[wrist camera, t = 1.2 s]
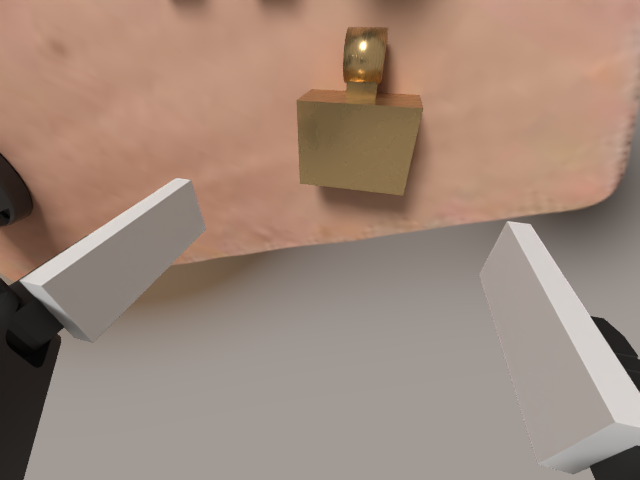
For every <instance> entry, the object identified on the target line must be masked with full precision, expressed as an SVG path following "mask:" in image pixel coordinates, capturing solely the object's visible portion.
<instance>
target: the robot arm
mask: <svg viewBox="0 0 640 480" xmlns="http://www.w3.org/2000/svg"><path fill="white" fill-rule="evenodd" d="M31 210H32V203H31V199H30V196H29V193H28V191H27V189H26V187H25V186H24V184H23V182H22V181H21V179H20V178H19V176H18V175H17V174H16V172H15V171H14V170H13V169H12V167H11V166H10V165H9V164H8V163H7V162H6V161H5V159H4V158H3V157H2V156H1V155H0V227H3V226H7V225H10V224H13V223H15V222H17V221H19V220H21V219H23V218H25V217H27V216H28V215H29V214H30V213H31ZM205 230H206V227H205V224H204V221H203V217H202V214H201V211H200V208H199V204H198V201H197V198H196V194H195V191H194V188H193V185H192V181H191V180H188V179H180V178H176V179H174V180H173V181H171V182H170V183H168V184H166V185H165V186H163V187H162V188H160V189H159V190H157V191H156V192H154V193H153V194H151V195H150V196H148V197H147V198H145V199H143V200H142V201H140V202H139V203H137V204H136V205H134V206H133V207H131V208H130V209H128V210H127V211H125V212H124V213H122V214H120V215H119V216H117V217H116V218H114V219H113V220H111V221H110V222H108V223H107V224H105V225H104V226H102V227H101V228H99V229H97V230H96V231H94V232H93V233H91V234H90V235H87V236H85V237H84V238H82V239H81V240H79V241H78V242H76V243H75V244H73V245H72V246H71V247H68V248H67V249H65V250H64V251H62V252H61V254H59V255H56V256H54V257H53V258H51V259H50V260H48V261H47V262H45V263H44V264H42V265H41V266H39V267H38V268H36V269H34V270H33V271H31V272H30V273H28V274H27V275H25V276H24V277H22V278H21V279H19V280H18V281H16V282H14V283H13V284H11V285H9V286H8V285H7V284H6V283H5V282H4V281H3V280H2V279H1V278H0V480H23V479H24V476H25V472H26V468H27V465H28V461H29V457H30V454H31V450H32V447H33V443H34V439H35V436H36V432H37V428H38V425H39V421H40V417H41V414H42V410H43V406H44V403H45V399H46V395H47V392H48V388H49V385H50V381H51V377H52V374H53V370H54V366H55V363H56V359H57V355H58V352H59V348H60V344H61V337H60V336H59V335H58V334H57V333H58V332H59V331H60V330H61V329H63V328H65V329H66V330H67V331H68V332H69V333H70V334H71V335H72V336H73V337H74V338H77V339H80V340H84V341H88V342H92V343H94V342H95V341H96V340H97V339H98V338H99V337H100V336H101V335H102V334H103V333H104V332H105V331H106V330H107V329H108V328H109V327H110V326H111V325H112V323H114V322H115V321H116V320H117V319H118V317H120V315H121V314H122V313H123V312H124V311H125V310H126V309H127V308H128V307H129V306H130V305H131V304H132V303H133V302H134V301H135V300H136V299H137V298H138V297H139V296H140V295H141V294H142V293H143V292H144V291H145V290H146V289H147V288H148V287H149V286H150V285H151V284H152V283H153V282H154V281H155V280H156V279H157V278H158V277H159V276H160V275H161V274H162V273H163V272H164V271H165V270H166V269H167V268H168V267H169V266H170V265H171V264H172V263H173V262H174V261H175V260H176V259H177V258H178V257H179V256H180V255H181V254H182V253H183V252H184V251H185V250H186V249H187V248H188V247H189V246H190V245H191V244H192V243H193V242H194V241H195V240H196V239H197V238H198V237H199V236H200V235H201V234H202V233H203V232H204V231H205ZM479 275H480V279H481V282H482V286H483V289H484V292H485V295H486V299H487V302H488V305H489V308H490V312H491V315H492V318H493V321H494V324H495V328H496V331H497V334H498V338H499V341H500V344H501V347H502V351H503V354H504V357H505V360H506V364H507V367H508V370H509V373H510V377H511V380H512V383H513V386H514V390H515V393H516V396H517V399H518V402H519V406H520V409H521V412H522V416H523V419H524V422H525V425H526V429H527V432H528V435H529V439H530V442H531V445H532V448H533V452H534V454H535V458H536V461H537V464H538V465H541V466H545V467H549V468H552V469H556V470H560V471H563V472H567V473H571V474H575V473H578V472H580V471H582V470H585V469H587V468H589V467H590V468H591V471H592V473H593V475H594V478H595V480H640V360H639V359H638V358H637V357H638V355H637V354H636V352H635V351H634V349H633V348H632V347H631V345H630V344H629V343H628V341H627V340H626V338H625V337H624V336H623V335H622V334H621V333H620V332H619V331H617V330H616V329H615V328H614V327H613V326H612V325H610V324H609V323H608V322H607V321H606V320H605V319H603V318H598V317H592V316H590V315H589V314H588V312H587V311H586V309H585V308H584V306H583V305H582V303H581V302H580V300H579V299H578V297H577V295H576V294H575V292H574V291H573V289H572V288H571V286H570V285H569V283H568V282H567V280H566V279H565V277H564V276H563V274H562V273H561V271H560V269H559V268H558V266H557V265H556V263H555V262H554V260H553V259H552V257H551V255H550V254H549V252H548V251H547V249H546V248H545V246H544V245H543V243H542V242H541V240H540V239H539V237H538V235H537V234H536V232H535V231H534V229H533V228H532V226H531V225H530V224H524V223H516V222H509V221H507V223H506V224H505V227H504V228H503V230H502V232H501V234H500V236H499V238H498V240H497V241H496V243H495V245H494V247H493V249H492V251H491V253H490V255H489V257H488V259H487V260H486V262H485V264H484V266H483V268H482V270H481V272H480V274H479Z"/></svg>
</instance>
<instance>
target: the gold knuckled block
mask: <svg viewBox="0 0 640 480" xmlns="http://www.w3.org/2000/svg"><path fill="white" fill-rule="evenodd" d="M387 37H388V28H373V27H348V29H347V33H346V39H345V46H344V59H343V76H344V82H345V83H347V90H346V91H334V90H316V89H312V90H310V91H309V92H307V93H306V94H305V95H303V96H302V97H301V98H299V99H298V100H297V119H298V144H299V169H300V184H309V185H317V186H326V187H334V188H343V189H351V190H360V191H368V192H377V193H385V194H394V195H402V196H403V194H404V190H405V186H406V181H407V177H408V173H409V168H410V164H411V159H412V155H413V151H414V146H415V142H416V137H417V133H418V129H419V124H420V120H421V116H422V111H423V106H422V102H421V98H420V95H406V94H388V93H377V90H378V84H381V81H382V75H383V68H384V61H385V53H386V46H387Z"/></svg>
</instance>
